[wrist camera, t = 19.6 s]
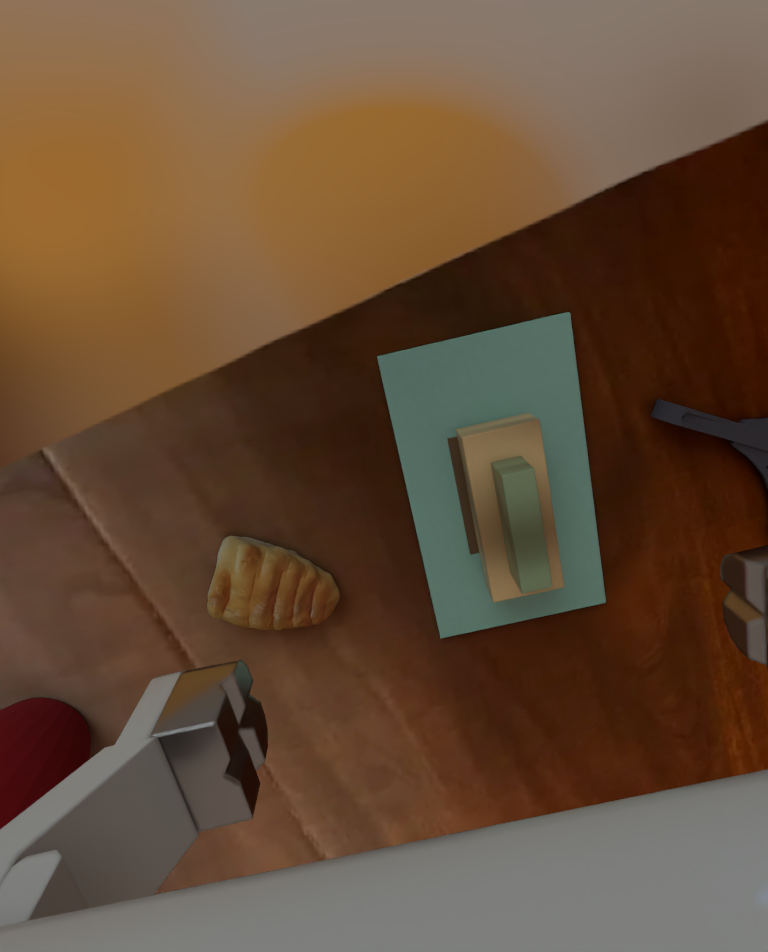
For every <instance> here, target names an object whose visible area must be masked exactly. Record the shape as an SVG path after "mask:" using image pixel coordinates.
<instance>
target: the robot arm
mask: <svg viewBox="0 0 768 952" xmlns="http://www.w3.org/2000/svg"><path fill="white" fill-rule="evenodd" d="M721 580H722V581H723V582H724V583H725V584H726V585H727V586H728V587H729V588H730V589H731V590H730V592H729V593H728V595H727V597H726V598H725V600H724V601H723V603H722V604H723V614H724V622H725V624H726V627H727V630H728V632H729V635H730V637H731V639H732V640H733V642H734V643H735V645H736V646H737V648H738V649H739V650H740V651H741V652H742V653H743V654H744V655H745V656H746V657H747V658H748V659H751V660H754V661H757V662H759V663H762V664H765V665H767V667H768V545H766V546H762V547H758V548H754V549H749V550H745V551H741V552H737V553H733V554H729V555H725V556H723V559H722V563H721ZM252 683H253V679H252V677H251V674H250V672H249V669H248V667H247V664H245V663H244V662H243V661H242V660H238V661H233V662H228V663H223V664H218V665H213V666H208V667H203V668H198V669H192V670H187V671H185V672H183V671H181V672H176V673H172V674H168V675H164V676H160V677H157V678H155V679H153V680H151V682H150V683H149V685H148V687H147V689H146V690H145V692H144V694H143V696H142V698H141V699H140V701H139V703H138V705H137V706H136V708H135V710H134V712H133V713H132V715H131V717H130V719H129V720H128V722H127V724H126V726H125V727H124V729H123V731H122V733H121V735H120V736H119V738H118V740H117V742H116V743H115V745H114V746H109V747H105V748H104V749H102V750H101V751H100V752H98V753H97V754H96V755H95V756H93V757H92V758H91V759H90V760H88V761H87V762H86V763H84V764H83V765H82V766H81V767H79V768H78V769H77V770H75V771H74V772H73V773H72V774H70V775H69V776H68V777H67V778H65V779H64V780H63V781H61V782H60V783H59V784H58V785H56V786H55V787H54V788H53V789H51V790H50V791H49V792H47V793H46V794H45V795H44V796H42V797H41V798H40V799H39V800H37V801H36V802H35V803H33V804H32V805H31V806H30V807H28V808H27V809H26V810H24V811H23V812H22V813H21V814H19V815H18V816H17V817H16V818H14V819H13V820H12V821H10V822H9V823H8V824H7V825H5V826H4V827H3V828H2V829H0V952H768V769H767V770H762V771H757V772H752V773H748V774H743V775H738V776H733V777H728V778H723V779H718V780H713V781H708V782H704V783H699V784H694V785H689V786H684V787H679V788H674V789H669V790H664V791H660V792H655V793H650V794H645V795H640V796H635V797H631V798H626V799H621V800H616V801H611V802H606V803H601V804H596V805H591V806H586V807H582V808H577V809H572V810H567V811H562V812H557V813H552V814H547V815H542V816H538V817H533V818H528V819H523V820H518V821H513V822H508V823H503V824H498V825H493V826H489V827H484V828H479V829H474V830H469V831H464V832H459V833H454V834H449V835H444V836H440V837H435V838H430V839H425V840H420V841H415V842H410V843H405V844H400V845H396V846H391V847H386V848H381V849H376V850H371V851H366V852H361V853H356V854H351V855H347V856H342V857H337V858H332V859H327V860H322V861H317V862H312V863H307V864H302V865H298V866H293V867H288V868H283V869H278V870H273V871H268V872H263V873H258V874H254V875H249V876H244V877H239V878H234V879H229V880H224V881H219V882H214V883H209V884H205V885H200V886H195V887H190V888H185V889H180V890H175V891H170V892H165V893H160V894H156V895H154V894H155V892H156V891H157V890H158V888H159V887H160V886H161V884H162V883H163V882H164V881H165V879H166V878H167V877H168V875H169V874H170V873H171V871H172V870H173V869H174V867H175V866H176V865H177V863H178V862H179V861H180V859H181V858H182V857H183V855H184V854H185V853H186V851H187V850H188V849H189V847H190V846H191V845H192V843H193V842H194V841H195V839H196V838H197V837H198V836H199V834H198V832H201V831H205V830H209V829H213V828H217V827H221V826H226V825H230V824H234V823H238V822H242V821H246V820H251V819H252V818H253V814H254V809H255V805H256V800H257V796H258V791H259V787H260V781H259V778H258V776H257V773H256V770H257V769H258V768H259V767H260V766H261V765H262V764H263V763H264V762H265V758H266V753H267V748H268V731H267V724H266V719H265V714H264V711H263V708H262V705H261V702H259V701H258V700H256V699H255V698H254V697H252V696H251V695H249V693H250V690H251V686H252Z"/></svg>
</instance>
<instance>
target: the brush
mask: <svg viewBox="0 0 768 952" xmlns="http://www.w3.org/2000/svg"><path fill="white" fill-rule="evenodd" d="M456 434H457V439H458V445H459V450H460V455H461V460H462V465H463V470H464V476H465V481H466V486H467V491H468V496H469V501H470V507H471V512H472V517H473V522H474V527H475V532H476V538H477V543H478V548H479V553H480V558H481V564H482V569H483V574H484V579H485V584H486V587H487V590H488V592H489V594H490V597H491V599H492V601H493V602H494V603H495V602H499V601H504V600H508V599H513V598H517V597H522V596H527V595H531V594H536V593H540V592H545V591H549V590H554V589H559V588H563V587H564V581H563V574H562V568H561V561H560V554H559V547H558V540H557V534H556V527H555V520H554V513H553V507H552V500H551V493H550V486H549V480H548V473H547V466H546V459H545V452H544V446H543V439H542V432H541V425H540V420H539V419H537V418H536V417H534V416H533V415H531V414H530V413H524V414H520V415H515V416H511V417H507V418H502V419H498V420H494V421H489V422H485V423H480V424H476V425H472V426H467V427H463V428H459V429H456Z"/></svg>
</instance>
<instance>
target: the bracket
mask: <svg viewBox="0 0 768 952" xmlns="http://www.w3.org/2000/svg"><path fill="white" fill-rule="evenodd" d="M651 417H654V418H656V419H659V420H662V421H665V422H668V423H671V424H675V425H678V426H681V427H685V428H688V429H692V430H696V431H699V432H703V433H706V434H710V435H713V436H717V437H720V438H724V439H727V440H731V442H730V445H731V446H733V447H734V448H735V449H737V450H738V451H739V452H741V453H742V454H743V455H745V456H746V457H747V458H748V459H749V460H750V461H751V462H752V463H753V465H754V466H755V467H756V468H757V469H758V471H759V472H760V473H761V475H762V477H763V479H764V482H765V484H766V487H767V490H768V418H762V419H742V420H740V422H739V423H737V422H734V421H730V420H727V419H724V418H720V417H717V416H714V415H710V414H707V413H704V412H700V411H697V410H694V409H690V408H687V407H684V406H680V405H677V404H674V403H670V402H667V401H664V400H660V399H657V402H656V404H655V406H654V409H653V411H652V413H651Z"/></svg>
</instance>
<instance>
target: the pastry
mask: <svg viewBox="0 0 768 952" xmlns="http://www.w3.org/2000/svg"><path fill="white" fill-rule="evenodd" d="M217 558H218V561H217V565H216V569H215V572H214V576H213V579H212V582H211V585H210V588H209V592H208V603H207V610H208V612H209V614H210V615H211V616H212V617H213V618H220V619H223V620H226V621H228V622H230V623H232V624H235V625H236V626H240V627H249V628H256V629H261V630H281V629H293V628H295V627H302V626H310V625H316V624H320V623H322V622H323V621H324V620H326V619H327V618H328V617H329V616H330V615H331V614H332V613H333V612H334V609H335V607H336V606H337V602H338V601H339V598H340V591H339V589H338V587H337V585H336V583H335V581H334V579H333V577H332V576H331V574H329V573H327V572H325V571H323V570H322V569H321V568H319V567H317V566H315V565H314V564H313V563H312V562H310V561H309V560H306V559H304V558H302V557H301V556H300V555H299V554H297V553H296V552H295V551H294V550H287V549H284V548H282V547H279V546H275V545H272V544H270V543H265V542H262V541H259V540H256V539H253V538H249V537H239V536H228V537H226V538H225V539H224V540H223V541H222V544H221V547H220V549H219V553H218V556H217Z"/></svg>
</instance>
